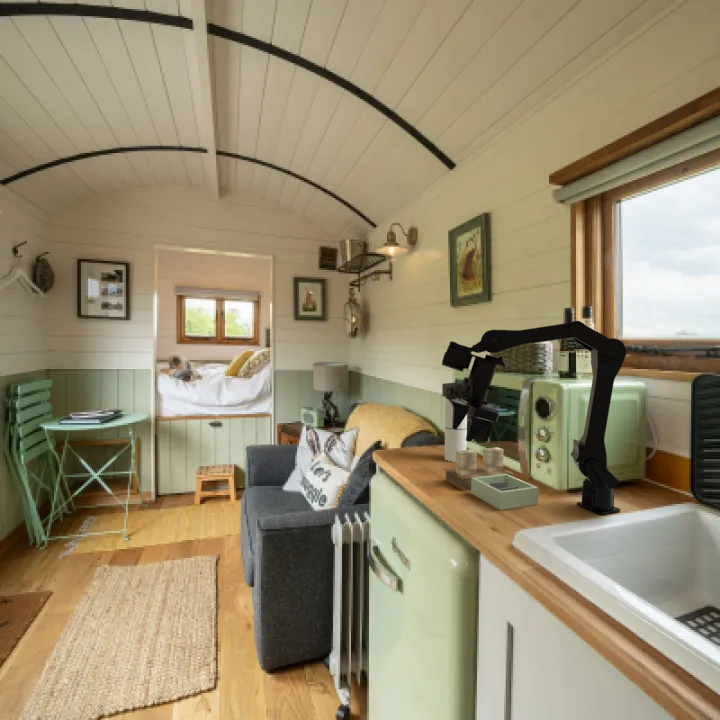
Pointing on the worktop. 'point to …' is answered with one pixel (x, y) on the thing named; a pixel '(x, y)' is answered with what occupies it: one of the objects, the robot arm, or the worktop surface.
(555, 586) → the worktop surface
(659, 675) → the worktop surface
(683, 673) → the worktop surface
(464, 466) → the block
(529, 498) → the green open tray
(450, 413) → the cylindrical container
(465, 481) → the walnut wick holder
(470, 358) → the robot arm
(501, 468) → the block
